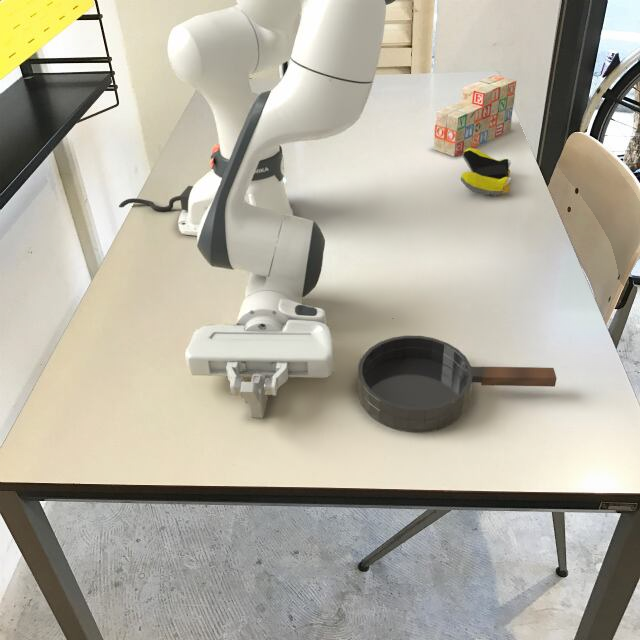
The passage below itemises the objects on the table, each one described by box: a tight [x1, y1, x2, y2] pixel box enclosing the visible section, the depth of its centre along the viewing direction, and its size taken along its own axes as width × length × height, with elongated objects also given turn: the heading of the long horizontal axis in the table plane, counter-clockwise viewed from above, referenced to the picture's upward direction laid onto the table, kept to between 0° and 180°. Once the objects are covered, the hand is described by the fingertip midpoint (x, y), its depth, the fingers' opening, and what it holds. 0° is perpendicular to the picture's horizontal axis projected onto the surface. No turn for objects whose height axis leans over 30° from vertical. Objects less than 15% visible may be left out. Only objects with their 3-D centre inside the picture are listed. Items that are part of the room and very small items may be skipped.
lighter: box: [240, 373, 269, 419], centre depth 91 cm, size 7×2×8 cm, turn 174°
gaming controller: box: [460, 147, 512, 198], centre depth 144 cm, size 15×6×10 cm
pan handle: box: [471, 366, 558, 388], centre depth 93 cm, size 11×2×2 cm, turn 86°
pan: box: [357, 335, 473, 433], centre depth 95 cm, size 15×15×4 cm
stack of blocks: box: [433, 75, 517, 157], centre depth 161 cm, size 21×6×12 cm, turn 133°
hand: (252, 391), depth 90 cm, fingers open, 3 cm apart
